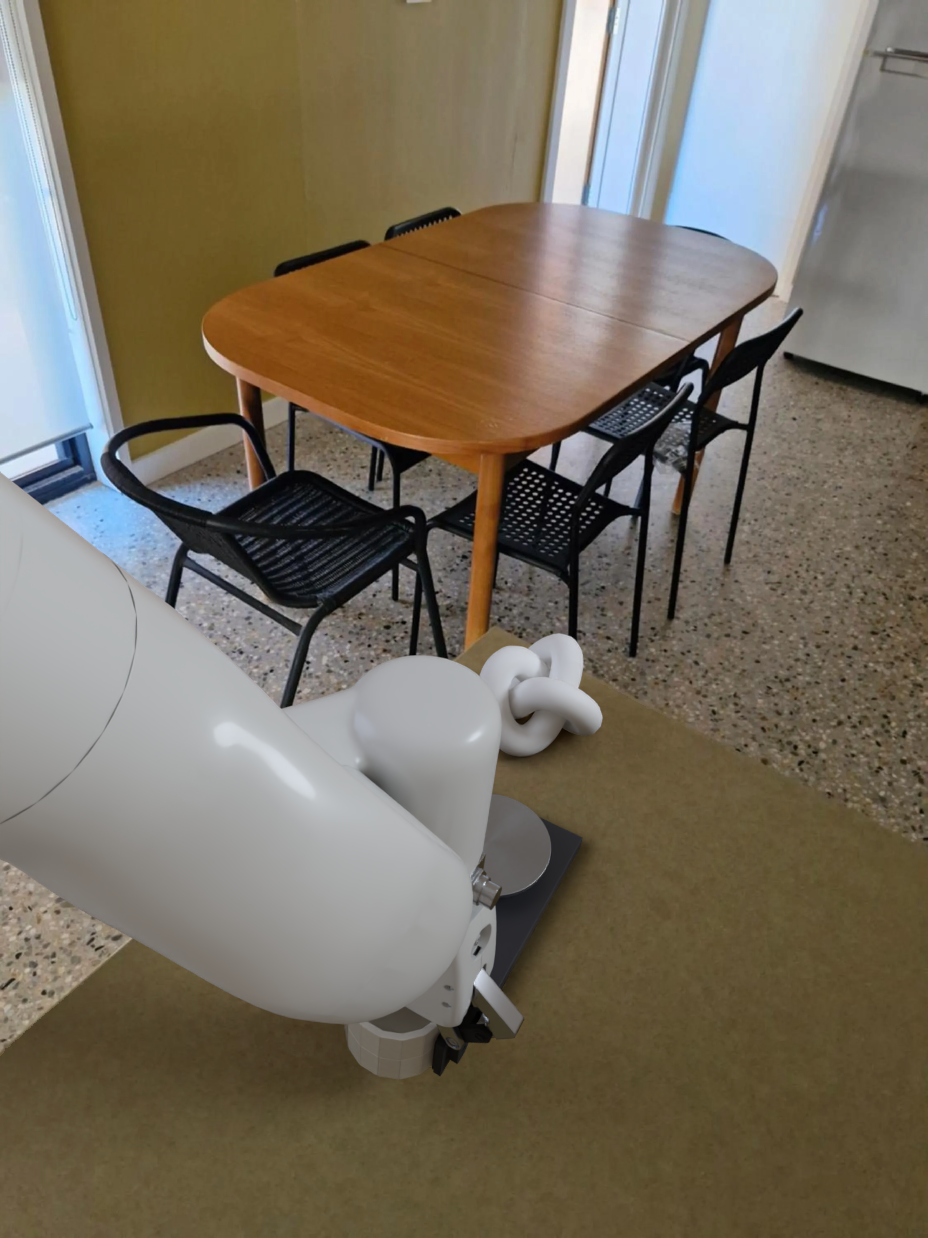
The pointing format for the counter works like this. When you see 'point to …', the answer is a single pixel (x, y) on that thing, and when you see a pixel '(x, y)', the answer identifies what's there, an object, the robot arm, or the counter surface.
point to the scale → (530, 903)
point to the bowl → (393, 1044)
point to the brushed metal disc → (515, 846)
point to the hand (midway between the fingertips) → (397, 1023)
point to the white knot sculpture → (540, 693)
